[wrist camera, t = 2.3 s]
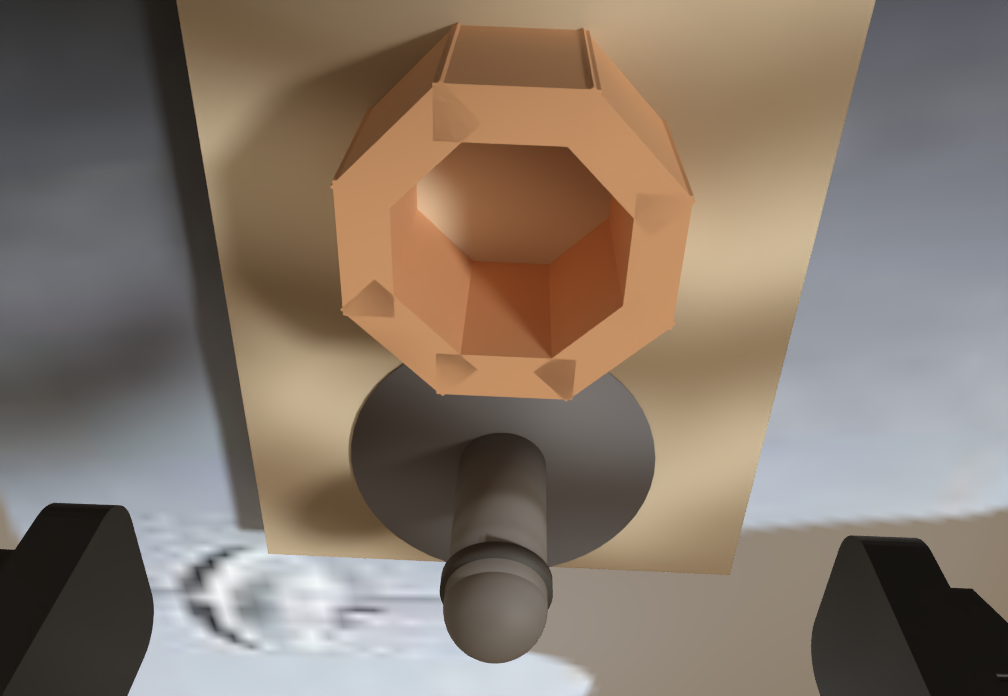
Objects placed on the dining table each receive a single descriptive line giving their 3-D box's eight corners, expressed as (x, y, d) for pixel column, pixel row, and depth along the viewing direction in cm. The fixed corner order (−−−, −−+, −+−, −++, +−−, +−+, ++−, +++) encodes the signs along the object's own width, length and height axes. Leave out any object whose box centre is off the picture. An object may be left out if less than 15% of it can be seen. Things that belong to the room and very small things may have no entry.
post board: (192, -68, 18) (6, 18, 12) (858, -41, 18) (1033, 60, 12) (280, 522, 28) (204, 747, 21) (719, 543, 28) (774, 775, 21)
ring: (361, 18, 18) (320, 74, 14) (680, 31, 18) (713, 91, 14) (376, 294, 21) (347, 391, 18) (642, 306, 21) (662, 405, 18)
